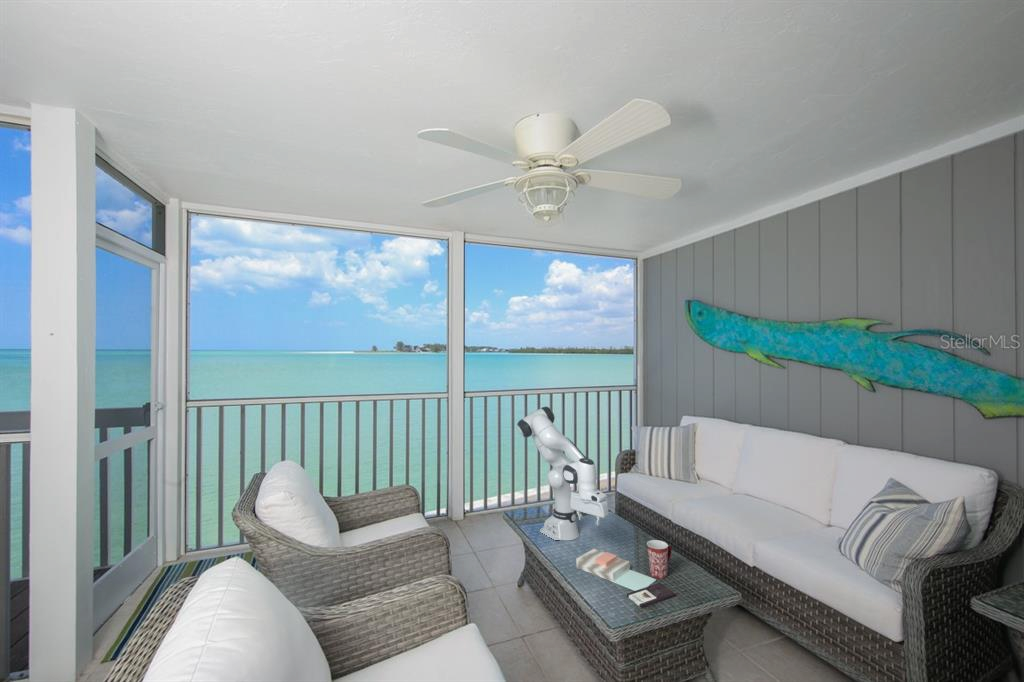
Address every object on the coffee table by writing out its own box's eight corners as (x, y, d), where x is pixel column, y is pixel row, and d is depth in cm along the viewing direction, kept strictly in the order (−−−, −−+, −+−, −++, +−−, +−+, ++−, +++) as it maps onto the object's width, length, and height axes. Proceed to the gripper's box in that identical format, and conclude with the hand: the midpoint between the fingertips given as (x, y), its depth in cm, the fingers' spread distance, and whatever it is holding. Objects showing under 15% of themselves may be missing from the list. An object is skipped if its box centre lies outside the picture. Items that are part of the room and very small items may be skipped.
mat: (611, 581, 192) (611, 580, 192) (628, 569, 202) (627, 568, 202) (640, 593, 182) (640, 592, 182) (656, 580, 192) (656, 579, 192)
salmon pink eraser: (595, 562, 201) (595, 558, 201) (606, 556, 207) (606, 551, 207) (606, 567, 197) (606, 562, 197) (617, 560, 203) (617, 555, 203)
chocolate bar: (675, 593, 179) (641, 605, 171) (675, 596, 179) (641, 608, 171) (659, 582, 187) (626, 593, 179) (659, 584, 187) (626, 595, 179)
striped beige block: (576, 567, 205) (576, 558, 206) (593, 556, 215) (593, 548, 215) (613, 582, 191) (612, 573, 191) (629, 570, 201) (629, 561, 201)
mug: (658, 581, 191) (657, 550, 191) (643, 572, 199) (642, 542, 199) (679, 574, 196) (678, 543, 197) (664, 565, 204) (663, 536, 205)
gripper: (566, 490, 214) (568, 519, 214) (601, 499, 200) (603, 530, 199) (574, 487, 219) (575, 515, 218) (609, 495, 204) (611, 525, 204)
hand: (589, 522), depth 209 cm, fingers open, 8 cm apart
